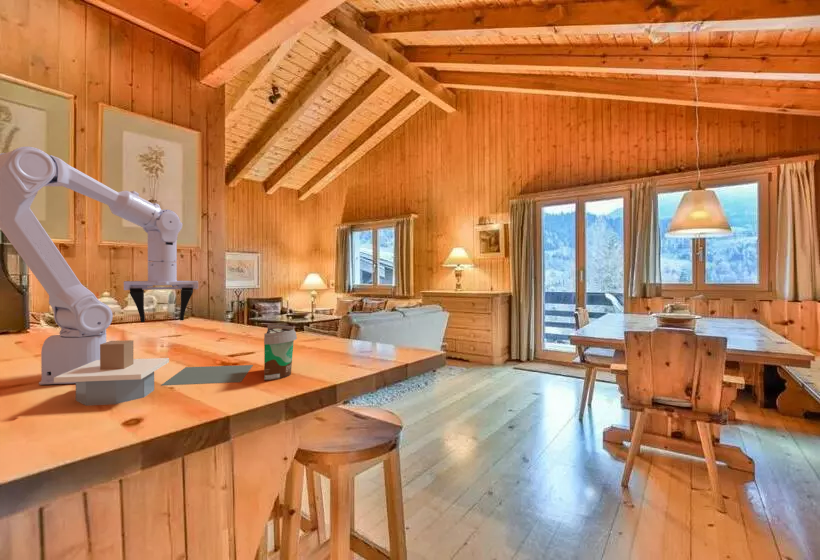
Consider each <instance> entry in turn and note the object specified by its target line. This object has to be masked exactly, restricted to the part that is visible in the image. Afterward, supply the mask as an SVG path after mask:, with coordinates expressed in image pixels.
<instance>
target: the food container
mask: <svg viewBox="0 0 820 560" xmlns="http://www.w3.org/2000/svg"><path fill="white" fill-rule="evenodd" d="M263 334H264V336H263V338H264V339H263V344H264V350H263V351H264V352H263V353H264V355H263V356H264V359H263V361H264V363H263V365H264V371H263V372H264V379H263V380H264V381H263V382H272V381H276V380H282V379H285V378H288V377H289V376H291V375H292V368H293V367H292V364H293V353H294V341H296V340H297V339H298V337H297V332H296V330H295V328H294V326H293V327H292V326H288V325H276V324H275V325H267V330H266V333H263Z"/></svg>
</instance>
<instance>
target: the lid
mask: <svg viewBox="0 0 820 560" xmlns="http://www.w3.org/2000/svg"><path fill="white" fill-rule="evenodd" d="M169 362H170V358H169V357H163V358H162V357H161V358H158V357H157V358H155V357H153V358H134V340H133V339H132V340H131V339H130V340H109V341H106V343H103V344H100V360H96V361H93V362H91V363H88V364H86V365H83V366H81V367H78V368H76V369H73V370H71V371H68V372H66V373H64V374H61V375H59V376H56V377H54V383H58V382H84V381H111V380H137V379H142V378H144V377H146V376H147V375H149V374H151V373H152V372H154V373H155V372H156V371H157V370H159V369H161V368H162V367H164V366H165V365H167V364H168V363H169Z"/></svg>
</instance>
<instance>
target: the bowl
mask: <svg viewBox="0 0 820 560" xmlns="http://www.w3.org/2000/svg"><path fill="white" fill-rule="evenodd" d="M154 391H155V371H154V372H152V373H151V374H149V375H147V376H146V377H144V378H142V379H137V380H111V381H84V382H76V383H75V401H76V402H78V403H80V404H82V405H85V406H86V407H87V406H104V405H105V406H106V405H118V404H123V403H127V402H131V401H135V400H140V399H142V398H146V397H147V396H148V395H150V394H151V393H153V392H154Z"/></svg>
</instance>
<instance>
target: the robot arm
mask: <svg viewBox="0 0 820 560" xmlns="http://www.w3.org/2000/svg"><path fill="white" fill-rule="evenodd" d="M44 187H63V188H66V189H69V190H71V191H73V192H75V193H78V194H80V195H83V196H85V197H87V198H90V199H92V200H95V201H97V202H100V203H102V204H104V205H107V206H108V207H109V210H110V211H111V213H112V214H113V215H114V216H117V217H118V218H121V219H123V220H125V221H127V222H130V223H133V224H134V225H137V226H139V227H140V228H142V229H143V231H144V232H145V233H147V280H131V281H130V280H127V281H126V280H124V281H123V291H129V295H130V297H131V298H132V301H133V302H134V304H135V306H136V308H137V312H138V315H139V318H140V323H145V322H146V321H145V319H146V318H145V317H146V315H145V304H144V303H145V290H146V291H147V290H151V291H152V290H153V291H154V290H180V308H179V309H180V311H179V321H184V319H185V313H186V309H187V306H188V304H189V302H190V299H191V297H192V295H193V294H194V290H199V281H198V280H177V279H178V277H177V275H178V271H177V270H178V268H177V267H178V265H177V263H178V262H177V261H178V258H177V256H178V251H177V250H178V245H177V241H178V235H179V233H180V231H181V230H182V228H183V225H184V224H183V222H181V220H180V217H179V215H178V214H177V213H176V212H175V211H173V210H171V209H162V208H161V207H160V204H158V203H157V202H155V203H153V202H150V201H149V200H147V199H145V198H143V197H141V196H139V195H140V193H138V192H137V191H135V190H131V191H129V190H122V191H116V190H114V189H113V188H111V187H109V186H107V185H105V184H104V183H103V182H101V181H98V180H97V179H95V178H93V177H92V176H89V175H88V174H86V173H84V172H83V171H80V170H79V169H77V168H75V167H73V166H71V164H68V163H67V162H65V160H63V159H61V158H60V157H57V156H54V155H51V154H50V155H49V154H48V153H46V152H45V151H43V150H42V149H39V148H38V147H37V148H36V147H32V146H20V147H17V148H14V149H13V150H11V151H8V152H3V153H2V152H1V153H0V230H1V232H2V233H3V234H4V236H5V237H6V238H7V239H8V241H9V242H10V244H11V245H12V247H13V248H14V250H15V251H16V252H17V253H18V255H19V257H20V258H21V259H22V261H23V262H24V263H25V264H26V266H27V267H28V269H29V270H30V271H31V272H32V275H34V277H35V278H36V279H37V281H38V283H40V285H41V287H42V288H43V289H44V290H45V292H46V293H47V294H48V304H49V305H50V307H51V309H52V311H53V320H54V321H55V324H57V326H58V327H59V328H61V329H60V330H59V334H54V335H49V336H48V337H47V338H46V339H45V340H44V341H43V344H42V346H41V352H40V353H41V355H40V357H41V360H40V361H41V362H40V363H41V366H40V367H41V370H40V371H41V380H40V381H39V382H38V385H42V386H43V385H62V384H65V385H67V384H68V385H69V384H76V382H58V383H54V377H56V376H59V375H61V374H64V373H66V372H68V371H71V370H73V369H76V368H78V367H81V366H83V365H86V364H88V363H91V362H93V361H96V360H100V344H103V343H106V342H107V329H108V328H109V327H110V326H111V324H112V322H113V317H114V316H113V315H114V314H113V311H112V309H111V307H110V306H109V305H107V304H106V303H104V302H102V301H101V300H99V299H98V298H97V297H96V295H95V293H93V292H92V291H91V290H89V288H87V287H85V286H84V285H83V284H82V283H81V281H80V280H79V278H78V277H77V276H76V274H75V272H74V271H73V269H72V268H71V267H70V265H69V264H68V262H67V260H66V259H65V258H64V256H63V255H62V254H61V252H60V250H59V249H58V248H57V246H56V245H55V243H54V242H53V240H52V238H51V237H50V235H48V233H47V231H46V229H45V228H44V226H43V225H42V224H41V222H40V221H39V219H38V218H37V217H36V215H35V213H34V212H33V211H32V209H31V206H32V204H33V202H34V200H35V198H36V196H37V194H38V192H40V190H41V189H43V188H44ZM156 286H157V287H156ZM167 286H168V287H167Z"/></svg>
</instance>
